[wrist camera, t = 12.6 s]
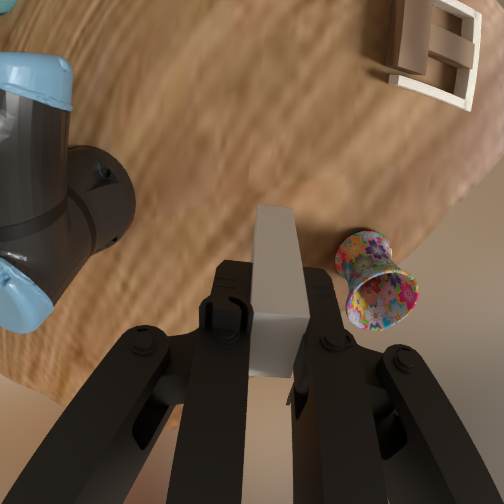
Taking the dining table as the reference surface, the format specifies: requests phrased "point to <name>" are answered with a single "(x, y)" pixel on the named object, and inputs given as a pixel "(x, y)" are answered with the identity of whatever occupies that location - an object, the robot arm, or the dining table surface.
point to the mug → (374, 282)
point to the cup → (6, 6)
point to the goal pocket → (464, 76)
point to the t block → (423, 40)
